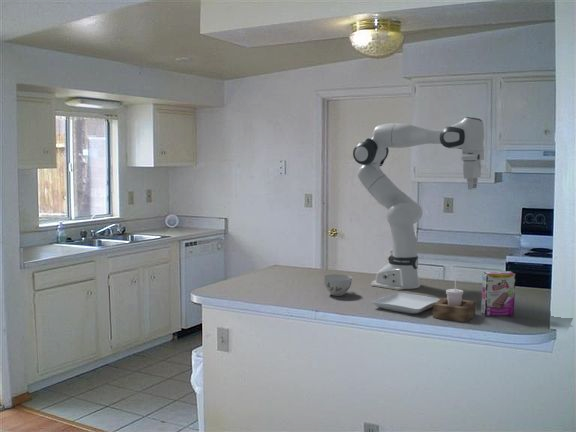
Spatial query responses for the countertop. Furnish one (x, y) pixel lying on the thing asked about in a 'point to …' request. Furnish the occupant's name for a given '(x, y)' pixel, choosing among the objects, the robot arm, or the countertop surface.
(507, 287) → the candy bar box
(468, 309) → the walnut holder
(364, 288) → the countertop surface
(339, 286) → the teacup
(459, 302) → the smoothie
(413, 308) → the salad plate
